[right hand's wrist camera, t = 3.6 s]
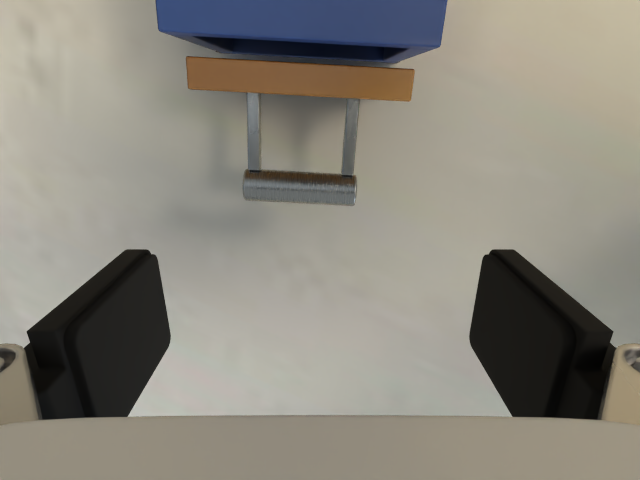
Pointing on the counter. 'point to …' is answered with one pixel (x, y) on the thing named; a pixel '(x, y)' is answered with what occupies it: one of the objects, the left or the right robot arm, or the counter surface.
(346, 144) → the drawer
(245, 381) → the counter surface
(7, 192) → the counter surface
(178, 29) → the cabinet
